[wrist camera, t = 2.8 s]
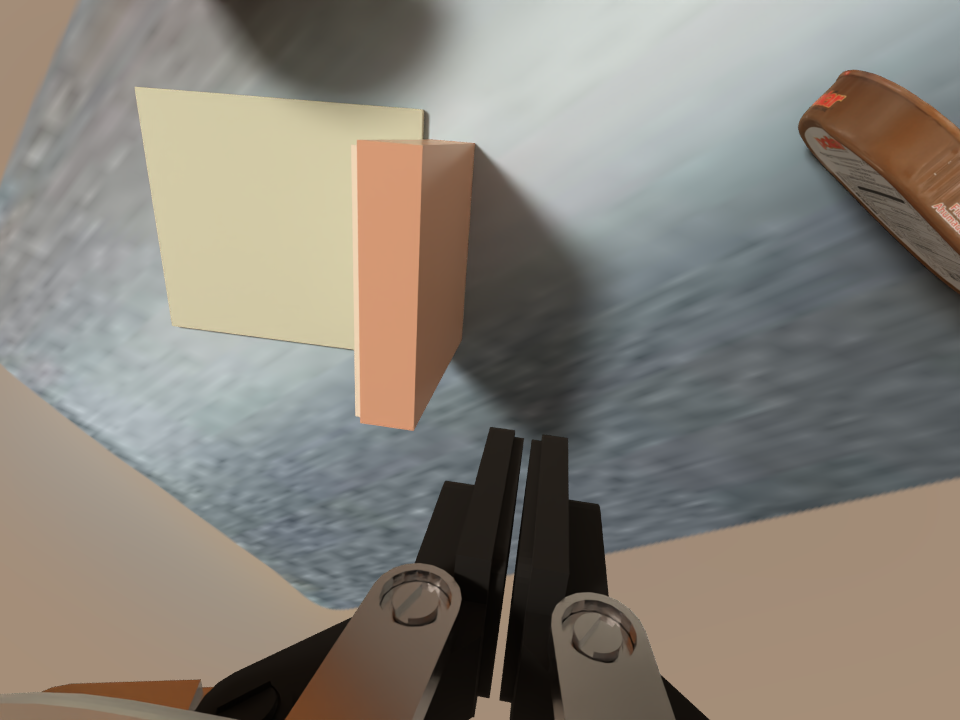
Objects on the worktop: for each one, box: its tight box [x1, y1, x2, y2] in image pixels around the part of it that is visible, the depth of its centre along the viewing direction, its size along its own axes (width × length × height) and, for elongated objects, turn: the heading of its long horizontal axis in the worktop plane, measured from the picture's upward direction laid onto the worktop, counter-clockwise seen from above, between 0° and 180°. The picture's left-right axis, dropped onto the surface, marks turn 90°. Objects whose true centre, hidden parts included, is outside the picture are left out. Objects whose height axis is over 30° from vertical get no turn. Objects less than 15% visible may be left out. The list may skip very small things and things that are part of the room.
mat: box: [135, 87, 424, 350], centre depth 34 cm, size 18×15×1 cm
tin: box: [798, 70, 960, 294], centre depth 25 cm, size 15×3×8 cm, turn 51°
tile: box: [351, 139, 475, 431], centre depth 28 cm, size 3×12×12 cm, turn 175°
